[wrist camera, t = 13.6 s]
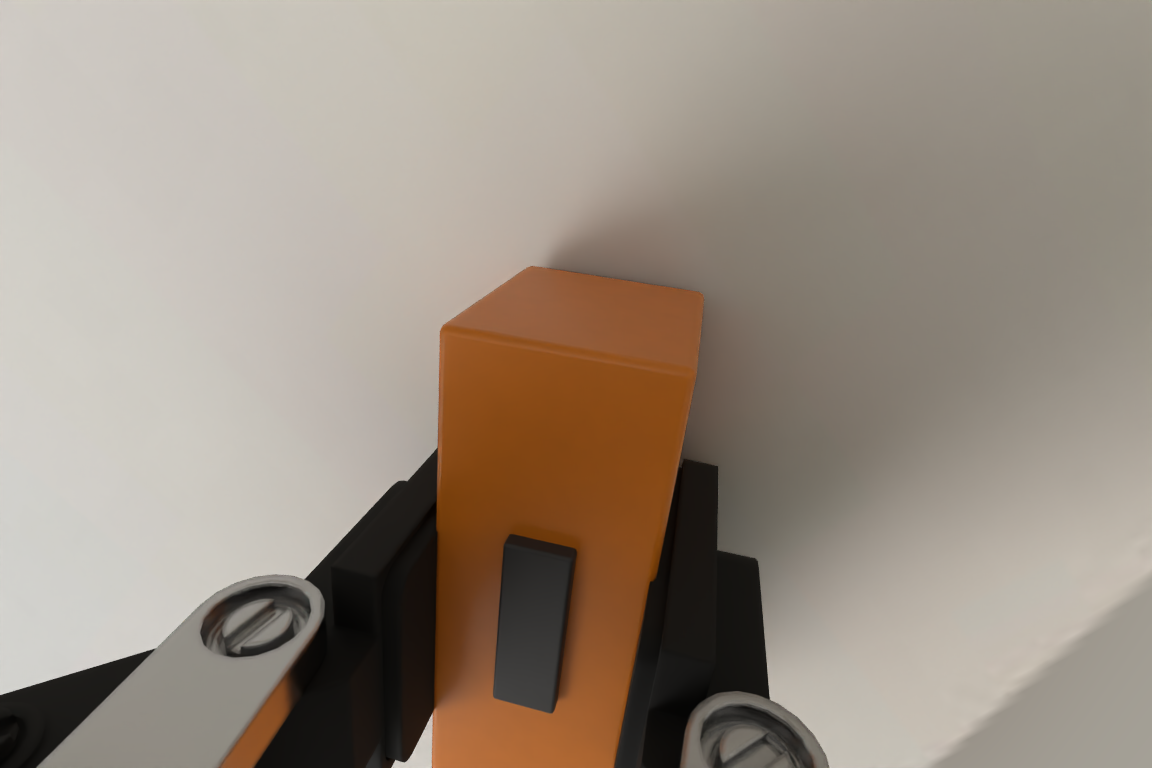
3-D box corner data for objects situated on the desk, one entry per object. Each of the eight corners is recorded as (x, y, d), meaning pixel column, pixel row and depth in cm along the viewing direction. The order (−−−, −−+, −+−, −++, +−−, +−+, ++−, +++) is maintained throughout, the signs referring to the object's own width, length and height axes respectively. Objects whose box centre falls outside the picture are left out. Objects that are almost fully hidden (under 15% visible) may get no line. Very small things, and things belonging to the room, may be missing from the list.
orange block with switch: (527, 263, 9) (428, 330, 6) (705, 291, 9) (697, 379, 6) (496, 684, 12) (422, 865, 9) (623, 718, 12) (588, 920, 9)
